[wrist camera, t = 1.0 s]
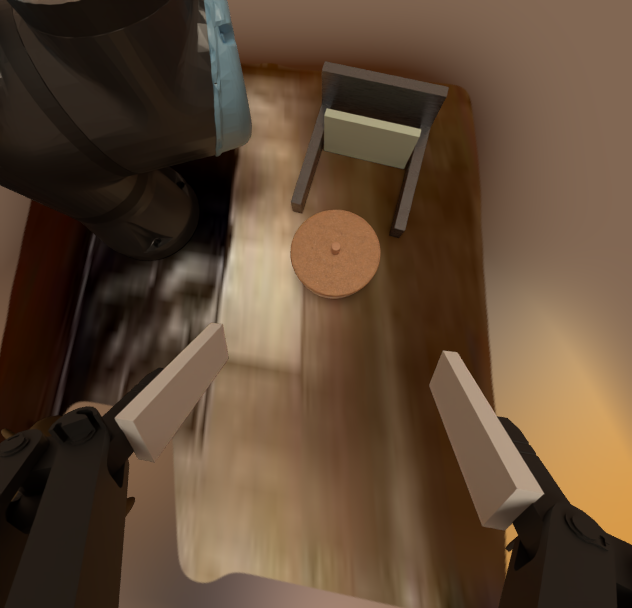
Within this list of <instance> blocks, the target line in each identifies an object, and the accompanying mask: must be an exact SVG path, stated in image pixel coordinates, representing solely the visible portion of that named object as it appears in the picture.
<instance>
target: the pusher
mask: <svg viewBox="0 0 632 608" xmlns="http://www.w3.org/2000/svg"><path fill="white" fill-rule="evenodd" d="M420 133H421V129H418V128H413V127H409V126H404V125H400V124H395V123H391V122H386V121H382V120H377V119H373V118H368V117H364V116H359V115H355V114H350V113H346V112H341V111H337V110H332V109H328V108H327V109H326V112H325V115H324V151H328V152H332V153H337V154H341V155H345V156H349V157H354V158H358V159H362V160H366V161H371V162H375V163H379V164H384V165H388V166H392V167H396V168H401V169H404V168H405V166H406V163H407V161H408V159H409V157H410V155H411V153H412V151H413V149H414V147H415V145H416V143H417V141H418V139H419V137H420Z"/></svg>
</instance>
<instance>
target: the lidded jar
mask: <svg viewBox="0 0 632 608" xmlns="http://www.w3.org/2000/svg"><path fill="white" fill-rule="evenodd" d="M291 261H292V266H293V268H294V271H295V273H296V275H297V276H298V278H299V279H300V281H301V282H302V283H303V284H304V285H305V287H307V288H308V289H309V290H310V291H311V292H313V293H315V294H316V295H319V296H321V297H325V298H331V299H337V298H343V297H347V296H349V295H352V294H354V293H355V292H357V291H359V290H360V289H362V288H363V287H364V286H365V285H366V284H368V282H369V281H370V280H371V279H372V278H373V276H374V274H375V273H376V271H377V268H378V266H379V261H380V244H379V241H378V238H377V236H376V233H375V232H374V230H373V229H372V227H371V226H370V225H369V224H368V223H367V222H366V221H365V220H364V219H362V218H361V217H359V216H358V215H356V214H354V213H351V212H348V211H343V210H327V211H323V212H320V213H317V214H315V215H313V216H312V217H310V218H308V219H307V220H306V221H305V222H304V223H303V224H302V225H301V226H300V227H299V229H298V230H297V232H296V233H295V235H294V238H293V241H292V244H291Z"/></svg>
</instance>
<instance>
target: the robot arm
mask: <svg viewBox="0 0 632 608" xmlns="http://www.w3.org/2000/svg"><path fill="white" fill-rule="evenodd" d="M251 133H252V122H251V116H250V110H249V104H248V99H247V94H246V89H245V84H244V79H243V74H242V69H241V64H240V59H239V55H238V50H237V46H236V42H235V39H234V31H233V27H232V22H231V17H230V11H229V6H228V2H227V0H0V185H1V186H3V187H5V188H7V189H10V190H12V191H14V192H17V193H19V194H21V195H23V196H25V197H27V198H30V199H32V200H34V201H36V202H39V203H41V204H43V205H45V206H47V207H50V208H52V209H54V210H56V211H59V212H61V213H63V214H65V215H68V216H70V217H72V218H74V219H76V220H78V221H80V222H81V223H82V224H84V225H85V226H86V227H87V228H88V229H89V230H91V231H92V232H93V233H94V234H95V235H96V236H97V237H99V238H100V239H101V240H102V241H103V242H104V243H105V244H107V245H108V246H109V247H110V248H112V249H114V250H115V251H117V252H119V253H121V254H124V255H126V256H129V257H131V258H134V259H138V260H148V261H149V260H158V259H162V258H165V257H167V256H170V255H172V254H174V253H175V252H177V251H178V250H180V249H181V248H182V247H183V246H184V245H185V244H186V243H187V242H188V241H189V239H190V238H191V237H192V235H193V233H194V231H195V229H196V227H197V224H198V220H199V203H198V199H197V196H196V194H195V192H194V190H193V189H192V187H191V186H190V185H189V184H188V183H187V182H186V180H185V179H184V178H183V177H182V176H181V175H180V174H179V173H177V172H176V171H175V170H173V169H172V168H170V167H169V166H173V165H177V164H181V163H185V162H189V161H193V160H197V159H201V158H205V157H209V156H213V155H215V156H219V155H221V153H222V152H225V151H228V150H231V149H234V148H237V147H241V146H243V145H245V144H246V143H247V142H248V140H249V138H250V137H251ZM228 358H229V356H228V351H227V345H226V340H225V334H224V328H223V324H218V323H210V324H209V325H208V326H207V327H206V328H205V329H204V330H203V331H202V332H201V333H200V334H199V335H198V336H197V337H196V338H195V339H194V340H193V341H192V342H191V343H190V344H189V345H188V346H187V347H186V348H185V349H184V350H183V351H182V352H181V353H180V354H179V355H178V356H177V357H176V358H175V359H174V360H173V361H172V362H171V363H170V364H169V365H168V366H167V367H166V368H158V369H156V370H154V371H153V372H151V373H149V374H148V375H147V376H145V377H144V378H143V379H142V380H141V381H140V382H139V384H138V385H136V386H135V387H134V388H133V389H131V392H128V393H127V394H126V395H125V396H124V397H123V398H122V399H121V400H120V401H119V402H118V403H116V404H115V405H114V406H113V407H112V408H111V409H110V410H109V411H108V412H107V413H106V414H105V415H104V416H103V417H101V415H100V413H99V412H98V410H97V409H96V408H94V407H82V408H78V409H75V410H73V411H71V412H68V413H67V414H65V415H64V416H62V417H60V418H59V419H58V420H57V421H56V422H55V423H53V424H52V426H51V427H50V429H49V430H48V432H49V433H50V434H51V435H52V436H48V437H46V436H45V435H44V434H43V433H42V431H40V430H37V429H31V430H26V431H23V432H20V433H17V434H15V435H13V436H11V437H9V438H7V439H6V440H4V441H3V442H1V443H0V608H118V606H119V591H120V580H121V579H120V578H121V566H122V553H123V540H124V527H125V514H126V501H127V487H128V473H129V461H128V458H129V457H130V456H131V454H132V453H133V452H134V453H135V454H136V456H137V458H138V459H140V460H145V461H150V462H155V461H156V460H157V458H158V457H159V456H160V454H161V453H162V451H163V450H164V449H165V447H166V446H167V444H168V443H169V442H170V440H171V439H172V437H173V436H174V435H175V433H176V432H177V430H178V429H179V427H180V426H181V425H182V423H183V422H184V420H185V419H186V418H187V416H188V415H189V413H190V412H191V411H192V409H193V408H194V406H195V405H196V404H197V402H198V401H199V399H200V398H201V397H202V395H203V394H204V392H205V391H206V389H207V388H208V387H209V385H210V384H211V382H212V381H213V380H214V378H215V377H216V375H217V374H218V373H219V371H220V370H221V368H222V367H223V366H224V364H225V363H226V361H227V360H228ZM429 386H430V389H431V391H432V394H433V397H434V399H435V402H436V405H437V407H438V410H439V412H440V415H441V418H442V420H443V423H444V426H445V428H446V431H447V434H448V436H449V439H450V442H451V444H452V447H453V450H454V452H455V455H456V457H457V460H458V463H459V465H460V468H461V471H462V473H463V476H464V479H465V481H466V484H467V487H468V489H469V492H470V494H471V497H472V500H473V502H474V505H475V508H476V510H477V513H478V516H479V518H480V521H481V524H482V526H485V527H490V528H495V529H500V530H506V529H507V528H508V527H509V526H510V525H511V524H512V523H513V525H514V527H515V529H516V531H517V534H518V536H517V537H516V538H515V539H514V540H513V541H511V542H510V543H509V544H508V545H507V547H506V548H505V549H506V550H508V551H511V550H512V549H513V550H512V555H511V559H510V562H509V566H508V570H507V575H506V579H505V583H504V587H503V591H502V595H501V599H500V603H499V607H498V608H632V545H631V544H629V543H627V542H625V541H622V540H620V539H618V538H616V537H614V536H612V535H610V534H608V533H606V532H605V531H604V530H603V529H602V528H601V527H600V526H599V525H598V524H597V523H596V522H595V521H594V520H593V519H592V518H591V517H590V516H588V515H587V514H586V513H585V512H583V511H582V510H580V509H578V508H576V507H575V506H573V505H571V504H570V502H569V501H568V500H567V498H566V497H565V495H564V494H563V493H562V491H561V490H560V488H559V487H558V485H557V484H556V482H555V481H554V479H553V478H552V476H551V475H550V473H549V472H548V470H547V469H546V468H545V466H544V465H543V463H542V462H541V460H540V459H539V457H538V456H536V453H535V451H534V450H533V448H532V447H531V446H530V445H529V442H528V441H527V440H526V438H525V437H524V435H523V434H522V432H521V431H520V429H519V428H518V427H516V426H515V425H514V424H513V423H512V422H511V421H510V420H509V419H508V418H504V417H498V416H496V414H495V413H494V411H493V410H492V408H491V406H490V405H489V403H488V402H487V400H486V398H485V397H484V395H483V393H482V392H481V390H480V389H479V387H478V385H477V384H476V382H475V380H474V379H473V377H472V376H471V374H470V372H469V371H468V369H467V367H466V366H465V364H464V363H463V361H462V359H461V358H460V356H459V354H458V353H457V352H449V351H443V352H442V354H441V357H440V359H439V362H438V365H437V367H436V370H435V372H434V375H433V377H432V380H431V382H430V385H429ZM17 491H18V493H17ZM16 493H17V495H16V496H15V494H16ZM14 496H15V497H14ZM13 497H14V499H13ZM12 499H13V500H12ZM11 500H12V501H11Z"/></svg>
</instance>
